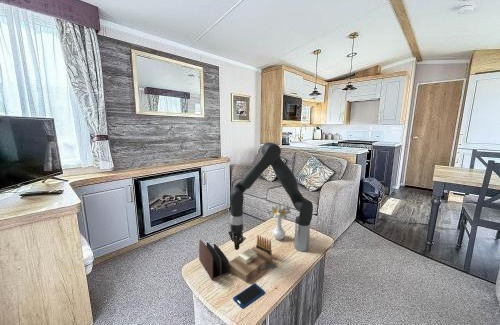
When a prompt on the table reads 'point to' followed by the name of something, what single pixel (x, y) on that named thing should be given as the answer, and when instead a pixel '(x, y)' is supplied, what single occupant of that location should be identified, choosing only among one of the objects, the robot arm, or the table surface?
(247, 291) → the cell phone
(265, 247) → the ammunition clip
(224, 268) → the letter holder
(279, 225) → the flower vase
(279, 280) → the table surface
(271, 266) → the mat
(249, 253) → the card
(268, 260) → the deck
